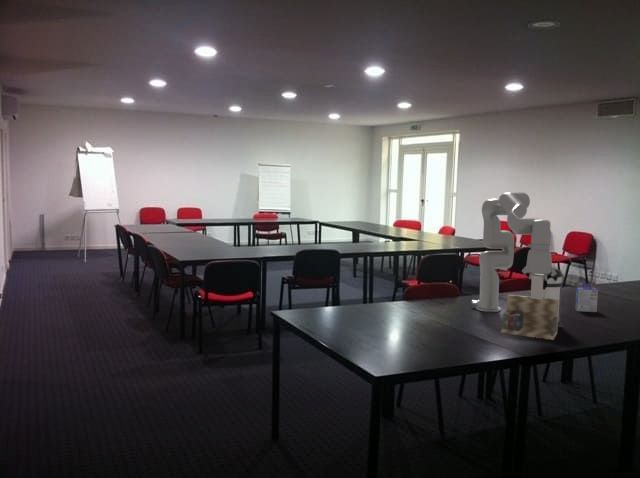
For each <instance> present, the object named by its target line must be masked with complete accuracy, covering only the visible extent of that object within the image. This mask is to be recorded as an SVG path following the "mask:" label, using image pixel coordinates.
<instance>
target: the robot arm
mask: <svg viewBox="0 0 640 478" xmlns="http://www.w3.org/2000/svg"><path fill="white" fill-rule="evenodd" d="M530 203H531V199H530V196H529V195H528V194H527V193H526V192H523V191H522V192H521V191H520V192H519V191H518V192H517V191H516V192H514V191H508V192H504V193H502V194H500V195H499V197H498V198H489V199H486V200H485V201H484V202H483V203H482V204H481V205H482V206H481V214H482V218H483V231H482V232H483V233H482V234H483V236H482V244H483V246H484V247H485V248H486V249H502V250H486V251H485V250H484V251H482V252H481V253H480V254H479V257H478V260H479V261H478V262H479V269H480V272H479V273H480V274H479V275H480V276H479V277H480V281H479V282H480V284H479V299H478V300H475V299H472V300H471V304H472V305H476V307H475V308H476V310H477V311H480V312H485V313H487V312H488V313H496V312H500V311H502V308H501V307H500V306H499V290H500V289H499V287H500V285H499V284H500V276H499V274H498V273H497V271H496V270H497V269H498V270H500V269H501V270H503V269H504V270H505V269H510V268H512V266H513V264H514V254H515V237H514V234H515V235H518V236H519V235H520V236H523V235H525V236H526V235H528V236H529V235H531V237H530V239H531V240H530V243H529V244H527V248H530V249H529V250H528V252H527V257H526V258H527V259H526V265H525V266H524V267H523V268H522V270H521V272H522V273H523V274H524V275H525V276H526V277H527V278H528V279H529V282H528V283H529V284H528V285H529V287H531V281H532V275H534V273H537V274H544V281H543V290H545V289H546V288H547V280H548V279H550V278H551V277H552V276H554V275H556V272H555V270H554V269H553V268H554V267H553V263H552V261H553V260H552V253H551V251H550V241H551V239H550V238H551V221H550V220H548V219H543V218H539V217H536V218H535V217H534V218H533V217H525V216H526V215H527V212H528V208H529V206H530ZM499 216H507V217H506V221H507V226H508V228H509V229H510V230H511V231H510V230H501V223H502V222H501V220H500V218H499ZM513 233H514V234H513ZM550 272H552V274H550V275H549V276H548V274H549V273H550Z"/></svg>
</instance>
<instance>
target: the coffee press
mask: <svg viewBox="0 0 640 478" xmlns="http://www.w3.org/2000/svg"><path fill="white" fill-rule="evenodd" d="M553 269H554V270H555V272H556V275H554V276H552V277H551V278H550V279H548V280H547V288H546V289H545V295H544V297H543V298H547V299H556V300H559V308H558V323H559V324H558V327H557V328H562V327H563V324H562V322H561V310H562V309H561V305H562V304H561V303H562V286H563V280H562V279H563V276H564V274H563V273H562V271H561V270H560V269H558V268H555V267H553ZM534 274H535V273H534ZM536 274H537V273H536ZM550 274H552V272H550V273H549V274H548V276H549V275H550Z"/></svg>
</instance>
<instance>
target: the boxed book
mask: <svg viewBox="0 0 640 478" xmlns="http://www.w3.org/2000/svg"><path fill="white" fill-rule="evenodd" d="M543 281H544V274H536V273H535V274H534V275H532V281H531V286H530V297H531V298H532V299H541V300H542V299H543V297H544V295H545V290H543Z"/></svg>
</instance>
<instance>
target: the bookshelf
mask: <svg viewBox="0 0 640 478" xmlns="http://www.w3.org/2000/svg"><path fill="white" fill-rule="evenodd" d="M506 295H507V296H506V298H507V300H506V311H504V312H502V323H501V325H502V326H501V330H500V333H502V334H509V335H516V336H523V337H529V338H535V337H536V338H535V339H542V338H543V339H544V340H549V339H550V340H552V341H554V340H555V338H556V336H557V335H558V328H559V327H558V325H559V324H558V323H559V322H558V308H559V300H556V299H547V298H543V299H542V300H541V299H532V298H531V296H525V295H516V294H506Z"/></svg>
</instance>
